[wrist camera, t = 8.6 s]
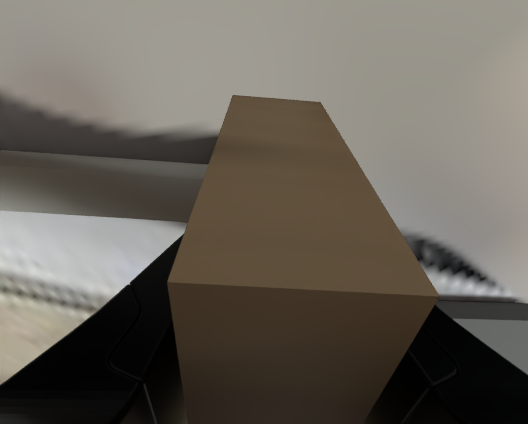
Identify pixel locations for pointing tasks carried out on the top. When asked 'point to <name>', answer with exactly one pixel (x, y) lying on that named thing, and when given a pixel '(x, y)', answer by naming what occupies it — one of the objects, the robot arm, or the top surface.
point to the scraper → (260, 262)
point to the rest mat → (495, 326)
